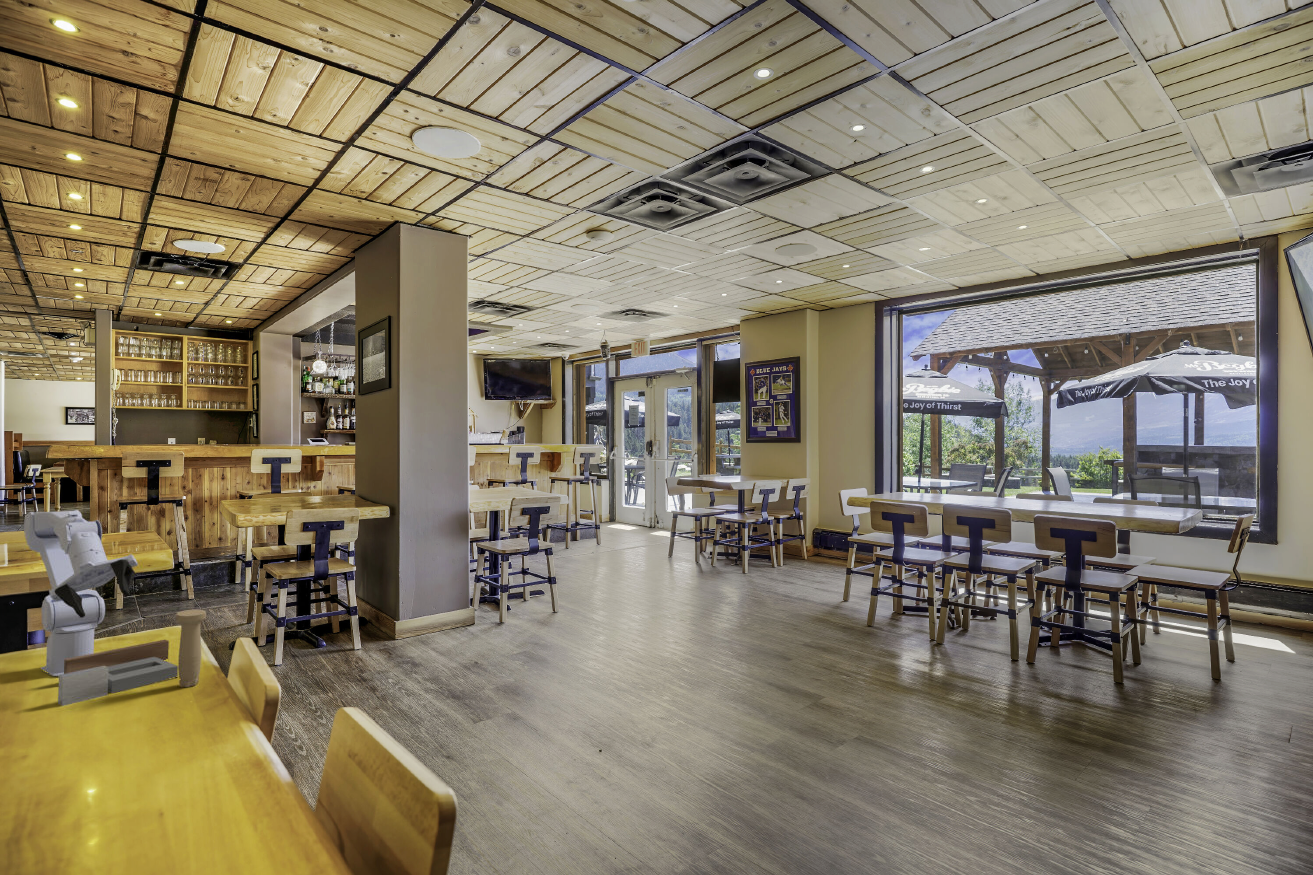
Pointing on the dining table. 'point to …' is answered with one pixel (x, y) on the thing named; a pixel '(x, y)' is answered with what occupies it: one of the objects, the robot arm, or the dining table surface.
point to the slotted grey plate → (139, 673)
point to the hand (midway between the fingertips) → (103, 603)
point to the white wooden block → (83, 685)
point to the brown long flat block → (118, 656)
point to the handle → (190, 646)
